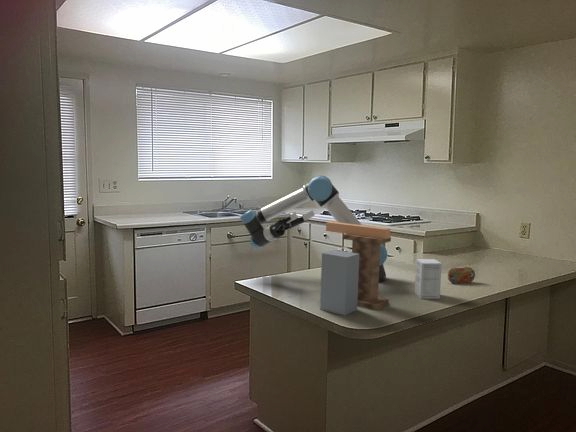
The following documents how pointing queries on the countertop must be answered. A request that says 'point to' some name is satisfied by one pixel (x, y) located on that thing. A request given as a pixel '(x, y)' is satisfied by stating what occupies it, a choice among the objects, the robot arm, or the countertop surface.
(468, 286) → the countertop surface
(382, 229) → the rod
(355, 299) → the slate block
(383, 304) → the stand
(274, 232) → the robot arm
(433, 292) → the supplement box
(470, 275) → the tin
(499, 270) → the countertop surface
